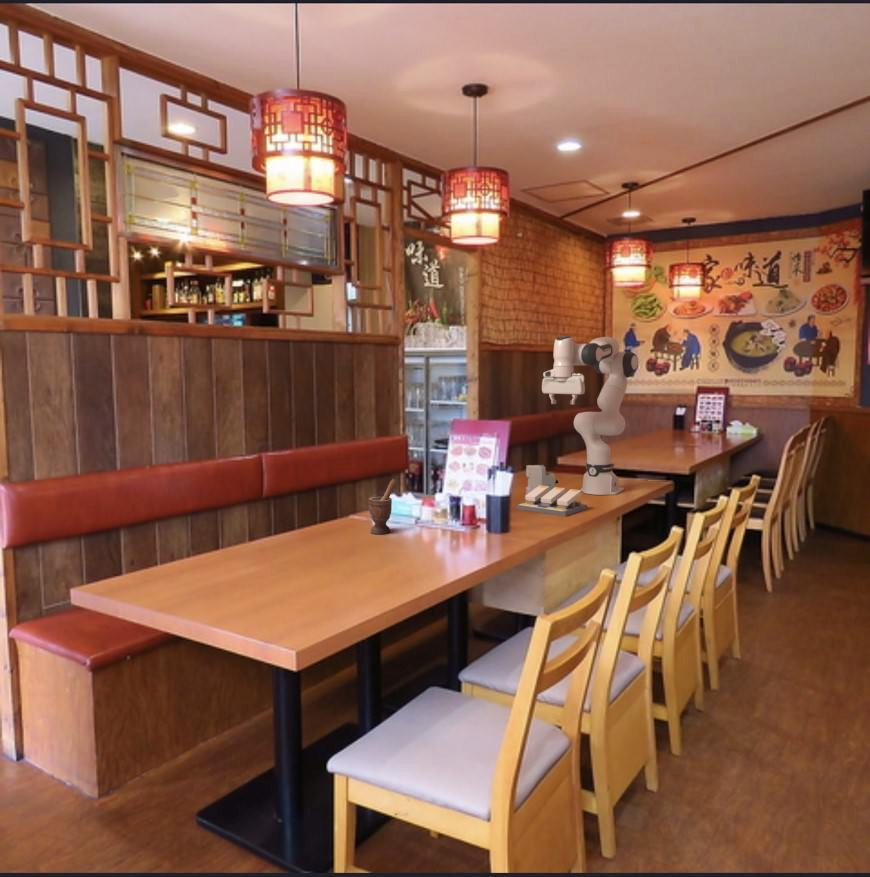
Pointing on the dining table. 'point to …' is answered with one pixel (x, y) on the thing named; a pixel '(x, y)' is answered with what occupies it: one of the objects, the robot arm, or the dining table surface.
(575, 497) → the block
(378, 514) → the mortar and pestle
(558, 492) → the rocker
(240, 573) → the dining table surface
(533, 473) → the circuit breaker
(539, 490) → the block
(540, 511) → the switch unit
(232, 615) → the dining table surface
